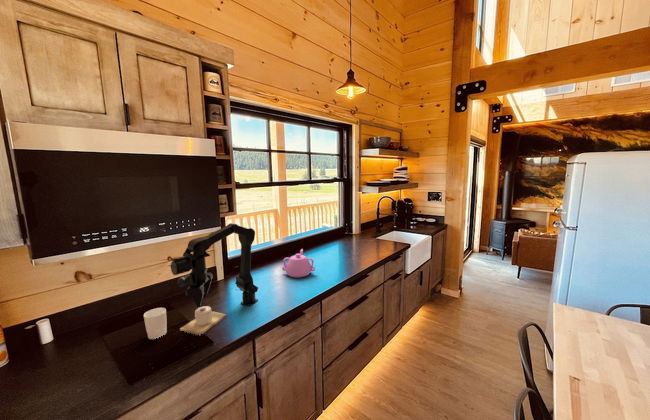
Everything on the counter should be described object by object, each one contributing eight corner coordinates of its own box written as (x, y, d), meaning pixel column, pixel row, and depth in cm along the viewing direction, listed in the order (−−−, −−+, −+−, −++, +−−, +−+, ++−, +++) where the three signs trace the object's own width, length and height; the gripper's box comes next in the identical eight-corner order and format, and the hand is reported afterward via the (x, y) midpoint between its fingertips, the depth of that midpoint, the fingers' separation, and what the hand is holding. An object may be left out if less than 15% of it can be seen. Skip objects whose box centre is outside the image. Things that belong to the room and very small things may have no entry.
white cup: (164, 326, 117) (161, 305, 116) (171, 333, 112) (168, 311, 111) (143, 335, 111) (140, 313, 110) (150, 342, 106) (147, 319, 105)
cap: (214, 321, 119) (213, 309, 118) (198, 327, 115) (197, 314, 114) (209, 315, 124) (208, 303, 123) (194, 320, 119) (192, 309, 119)
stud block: (208, 312, 129) (207, 302, 128) (226, 316, 125) (225, 305, 124) (180, 330, 114) (178, 319, 113) (199, 335, 110) (198, 324, 109)
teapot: (317, 267, 187) (317, 248, 185) (313, 279, 165) (312, 258, 163) (287, 266, 189) (286, 248, 187) (279, 279, 168) (278, 258, 166)
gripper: (186, 262, 123) (189, 294, 125) (170, 277, 105) (174, 314, 107) (211, 260, 125) (214, 291, 127) (200, 275, 107) (203, 311, 109)
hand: (201, 301), depth 118 cm, fingers open, 9 cm apart
